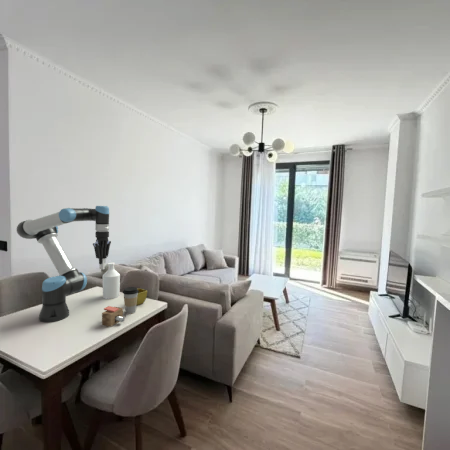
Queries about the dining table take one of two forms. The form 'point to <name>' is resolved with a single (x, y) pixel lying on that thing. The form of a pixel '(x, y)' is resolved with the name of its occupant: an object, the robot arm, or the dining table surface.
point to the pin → (119, 318)
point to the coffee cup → (130, 299)
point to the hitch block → (111, 317)
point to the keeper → (111, 309)
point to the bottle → (111, 283)
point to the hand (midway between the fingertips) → (102, 268)
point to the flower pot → (141, 296)
